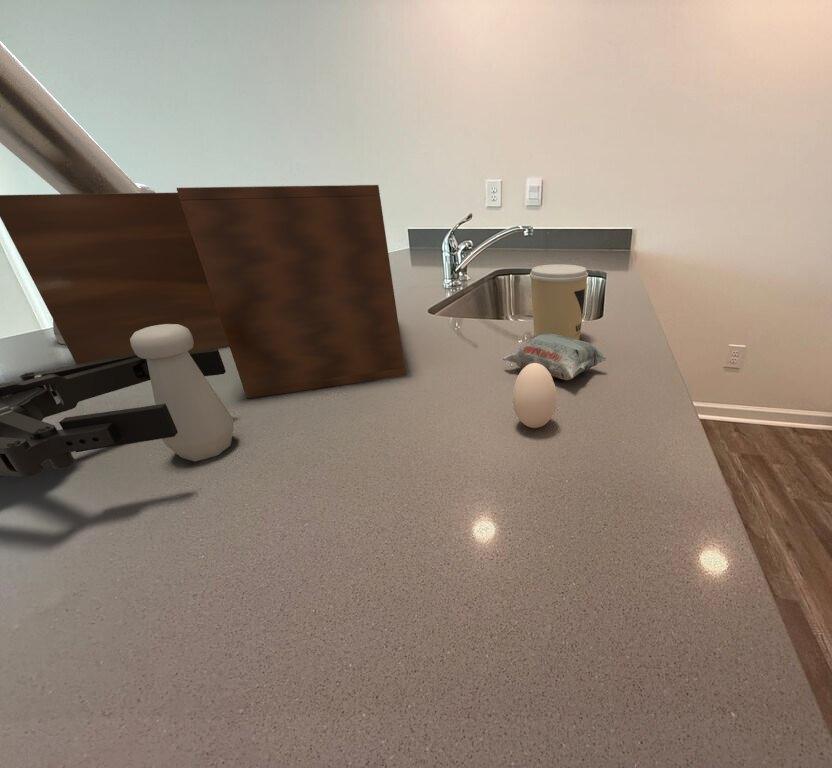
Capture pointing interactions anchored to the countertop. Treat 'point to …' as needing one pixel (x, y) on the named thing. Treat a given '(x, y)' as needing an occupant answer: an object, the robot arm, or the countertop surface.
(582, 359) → the packaged food
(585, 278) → the coffee cup
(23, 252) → the cupboard door
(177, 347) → the salt shaker
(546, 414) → the egg
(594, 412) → the countertop surface
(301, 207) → the wooden board
